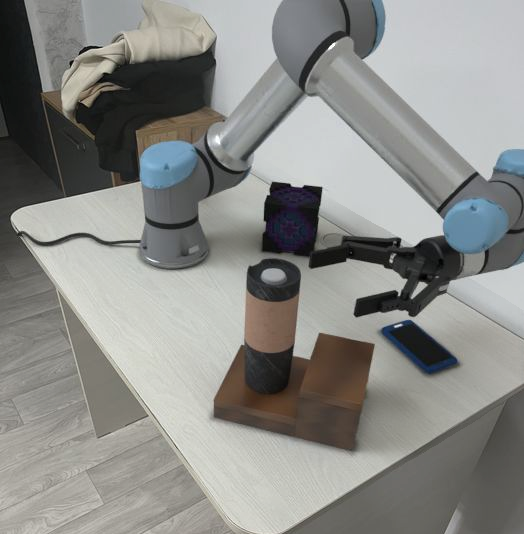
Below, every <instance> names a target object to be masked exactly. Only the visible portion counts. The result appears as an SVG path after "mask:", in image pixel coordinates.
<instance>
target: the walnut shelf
mask: <svg viewBox="0 0 524 534" xmlns="http://www.w3.org/2000/svg"><path fill="white" fill-rule="evenodd" d="M375 346H376V344H375V343H372V342H367V341H362V340H357V339H353V338H348V337H343V336H339V335H338V336H337V335H333V334H328V333H324V332H318V334H317V338H316V340H315V343H314V346H313V350H312V352H311V356H310V358H305V357H300V356H295V355H293V357H292V364H291V371H290V377H289V382H288V385H287V386H286V388H285V389H283V390H282V391H280V392H278V393H274V394H261V393H258V392H255V391H253V390H252V389H250V388H249V387H248V385H247V384H246V382H245V366H244V344H241V345H240V346H239V348H238V350H237V352H236V354H235V356H234V357H233V360H232V362H231V364H230V366H229V368H228V370H227V372H226V375H225V376H224V378H223V380H222V382H221V383H220V385H219V388H218V390H217V392H216V394H215V395H214V398H213V418H215V419H220V420H224V421H228V422H232V423H236V424H240V425H243V426H244V425H245V426H249V427H252V428H256V429H260V430H265V431H269V432H273V433H277V434H281V435H285V436H290V437H293V438H296V439H302V440H305V441H308V442H309V441H310V442H312V443H313V442H314V443H318V444H321V445H325V446H330V447H334V448H339V449H342V450H345V451H351V452H353V449H354V446H355V442H356V441H355V440H356V437H357V432H358V429H359V423H360V419H361V415H362V411H363V407H364V401H365V398H366V397H365V396H366V391H367V388H368V387H367V386H368V381H369V376H370V372H371V366H372V361H373V356H374V351H375Z"/></svg>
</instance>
